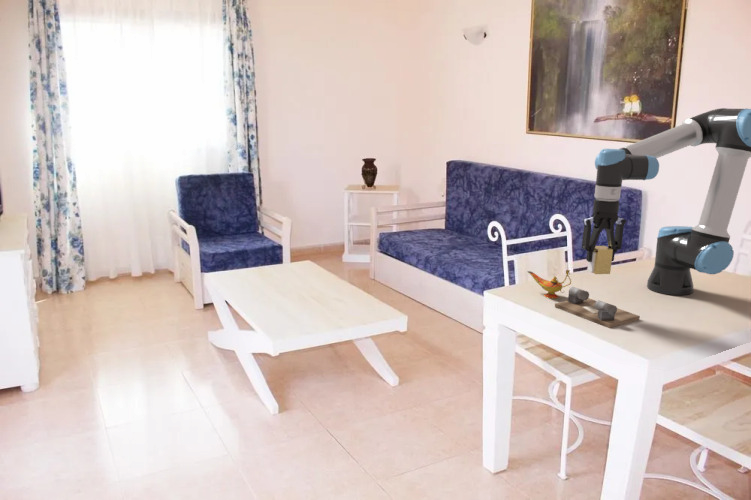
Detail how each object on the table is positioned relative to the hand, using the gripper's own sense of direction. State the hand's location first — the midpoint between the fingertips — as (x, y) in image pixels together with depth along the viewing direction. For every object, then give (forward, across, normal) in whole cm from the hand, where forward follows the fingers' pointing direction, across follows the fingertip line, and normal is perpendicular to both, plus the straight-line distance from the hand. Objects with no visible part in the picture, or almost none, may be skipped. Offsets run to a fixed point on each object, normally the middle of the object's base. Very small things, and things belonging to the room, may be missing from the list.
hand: (598, 271), depth 198 cm
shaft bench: (+14, 0, -2) cm, 14 cm away
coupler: (0, 0, 0) cm, 0 cm away
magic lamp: (+14, -8, +18) cm, 24 cm away
